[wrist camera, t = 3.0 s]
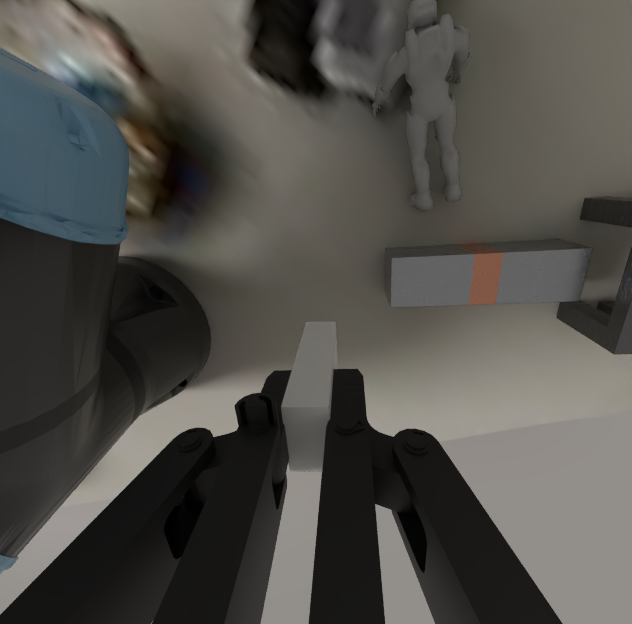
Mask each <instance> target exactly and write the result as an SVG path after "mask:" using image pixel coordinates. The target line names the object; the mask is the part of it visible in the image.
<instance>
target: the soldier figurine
mask: <svg viewBox="0 0 632 624" xmlns="http://www.w3.org/2000/svg"><path fill="white" fill-rule="evenodd" d="M406 13H407V15H408V22H409V25H408V31H407V32H406V33H405V44H404V47H403V48H402V49H401V50H400V51H399V53H398V50H397V51H395V52H394V53H392V55H391V56H390V57H389V58H388V60H387V62H386V65H385V70H384V76H383V78H382V80H381V83H380V84H379V86H378V87H377V89H376V92H375V102H374V103H373V105H372V108H373V112H374V116H376V115H377V114H376V111H377V112H378V108H379V109H381V108H380V104H381V103H383V104H386V101H385V100H387V98H388V97H389V95H390V94H391V92H392V87H393V85H394V84H395V83H396V81H397V80H398V79H399V77H400V76H401V75H402V74H404V73H405V75H406V81H407V82H408V84H409V85H410V86H411V87H412V95H410V101H411V104H412V107H411V110H410V111H407V112H406V134H407V143H408V144H409V148H410V164H411V166H412V169H413V177H414V179H415V182H416V191H417V192H416V193H415V194H414V195H412V196H411V199H410V201H411V204H410V205H411V206H415V207H417V208H418V209H419V210H421V211H426V210H430V209H431V208H432V207H434V204H433V200H432V198H431V195H430V192H429V190H430V188H429V185H428V183H429V178H430V170H429V163H428V161H427V160H426V157H425V150H426V146H427V130H428V123H429V122H432V121H434V126H435V132H436V139H437V142H438V144H439V147H440V164H441V168H442V170H443V172H444V174H445V181H446V186H445V188H444V194H446V201H447V202H455V201H457V200H460V199H461V186H460V184H459V172H458V166H459V155H458V152H457V150H456V148H455V145H454V140H453V137H454V130H455V129H456V118H457V114H456V106H455V98H454V95H453V94H450V95H449V94H448V90H449V83H448V82H446V81H445V79H446V80H447V79H448V77H449V76H451V77H450V80H449V81H450V82H451V80H452V78H453V76H454V78H453V83H454V82H455V79H456V76H457V79H456V83H458V80H459V83H460V82H461V78H462V72H463V69H464V68H465V67H466V65H467V64H468V62H469V61H470V58H471V53H469V52H468V50H469V48H468V41H469V35H470V34H469V32H468V30H467V29H466V27H463V26H460V25H456V26H455V27H454V26H453V21H452V17H451V16H450V14H449V13H448V14H445V15H442V16H441V20H440V23H439V24H438V25H435V24H436V22H437V20H438V17H437V2H436V1H435V0H413V1H412V2H411V3H410V7H409V9H408V10H407V12H406ZM433 25H435V26H433ZM451 62H452V67H453V69H452V70H450V71H449V68H450V65H451ZM448 71H449V72H448ZM446 75H447V76H446ZM445 77H446V78H445Z"/></svg>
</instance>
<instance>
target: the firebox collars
mask: <svg viewBox="0 0 632 624" xmlns="http://www.w3.org/2000/svg"><path fill="white" fill-rule="evenodd" d="M580 219H581V220H587V221H594V222H600V223H606V224H613V225H619V226H625V227H632V198H621V197H595V198H585V199H584V204H583V208H582V212H581V216H580ZM557 318H558V319H559V320H561V321H563V322H564V323H566V324H567V325H569V326H570V327H572V328H574V329H575V330H577V331H578V332H580V333H581V334H583V335H585V336H586V337H588V338H589V339H591V340H592V341H594V342H595V343H597V344H599V345H600V346H602V347H603V348H605V349H606V350H608V351H610V352H611V353H613V354H632V248H631V251H630V254H629V258H628V261H627V264H626V267H625V271H624V274H623V277H622V280H621V284H620V287H619V290H618V293H617V297H616V300H615V302H614V301H610V302H599V304H598V307H597V309H596V308H594V307H592V306H590V305H588V304H586V303H584V302H582V301H580V300H579V301H567V302H560V305H559V309H558V313H557Z"/></svg>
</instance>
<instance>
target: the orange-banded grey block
mask: <svg viewBox="0 0 632 624" xmlns="http://www.w3.org/2000/svg"><path fill="white" fill-rule="evenodd" d="M592 250H593V248H590V247H586V246H582V245H579V244H575V243H571V242H567V241H563V240H560V239H549V240H530V241H511V242H493V243H474V244H455V245H436V246H417V247H398V248H386V258H385V293H386V296H387V298H388V301H389V304H390V306H391V307H418V306H448V305H478V304H508V303H538V302H567V301H579V300H580V296H581V292H582V288H583V285H584V281H585V277H586V273H587V269H588V265H589V261H590V258H591V254H592Z"/></svg>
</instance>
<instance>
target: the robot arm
mask: <svg viewBox="0 0 632 624" xmlns="http://www.w3.org/2000/svg"><path fill="white" fill-rule="evenodd" d="M128 174H129V152H128V147H127V144H126V142H125V139H124V137H123V135H122V133H121V131H120V130H119V128H118V126H117V125H116V124H115V123H114V121H113V120H112V119H111V118H110V116H109V115H108V114H107V113H106V112H105V111H104V110H102V109H101V108H100V107H99V106H98V105H97V104H95V103H94V102H92V101H91V100H90V99H88V98H87V97H85V96H84V95H82V94H80V93H79V92H77V91H75V90H74V89H72V88H71V87H69V86H67V85H66V84H64V83H62V82H61V81H59V80H57V79H55V78H54V77H52V76H50V75H48V74H47V73H45V72H43V71H42V70H40V69H38V68H36V67H35V66H33V65H31V64H29V63H27V62H25V61H24V60H22V59H20V58H18V57H16V56H15V55H13V54H11V53H9V52H7V51H5V50H4V49H2V48H0V574H1V573H2V572H3V571H4V570H7V569H9V568H10V567H11V566H12V565H13V564H14V563H15V562H16V560H17V559H18V557H17V555H18V554H19V553H20V552H21V551H22V550H23V548H24V547H25V546H26V545H27V544H28V543H29V541H30V540H31V539H32V538H33V537H34V536H35V535H36V534H37V532H38V531H39V530H40V529H41V528H42V527H43V525H44V524H45V523H46V522H47V521H48V520H49V519H50V517H51V516H52V515H53V514H54V513H55V511H56V510H57V509H58V508H59V507H60V506H61V505H62V504H63V503H64V501H65V500H66V499H67V498H68V497H69V496H70V494H71V493H72V492H73V491H74V490H75V489H76V488H77V486H78V485H79V484H80V483H81V482H82V481H83V480H84V478H85V477H86V476H87V475H88V474H89V473H90V472H91V470H92V469H93V468H94V467H95V466H96V465H97V463H98V462H99V461H100V460H101V459H102V458H103V457H104V455H105V454H106V453H107V452H108V451H109V450H110V449H111V447H112V446H113V445H114V444H115V443H116V442H117V441H118V439H119V438H120V437H121V436H122V435H123V434H124V432H125V431H126V430H127V429H128V428H129V427H130V425H131V424H132V423H133V422H134V421H135V420H136V419H137V418H138V417H139V416H140V415H142V414H143V413H145V412H147V411H149V410H151V409H152V408H154V407H156V406H158V405H159V404H161V403H163V402H165V401H166V400H168V399H170V398H172V397H174V396H175V395H177V394H179V393H180V392H182V391H183V390H184V389H185V388H187V387H188V386H189V385H190V384H191V383H192V381H193V380H194V379H195V378H196V376H197V375H198V374H199V372H200V371H201V370H202V368H203V367H204V365H205V363H206V361H207V358H208V355H209V351H210V331H209V326H208V322H207V319H206V316H205V314H204V312H203V310H202V308H201V306H200V304H199V302H198V301H197V299H196V298H195V297H194V295H193V294H192V293H191V292H190V290H189V289H188V288H187V287H186V286H185V285H184V284H183V283H182V282H181V281H179V280H178V279H177V278H176V277H175V276H173V275H172V274H170V273H169V272H167V271H166V270H164V269H162V268H160V267H158V266H156V265H154V264H152V263H149V262H146V261H143V260H140V259H135V258H128V257H119V250H120V244H121V242H122V241H123V240H124V239H126V237H127V234H128V225H127V221H126V218H125V208H126V196H127V185H128ZM235 410H236V415H237V420H238V425H239V427H238V429H237V431H235V432H232V433H229V434H225V435H221V436H217V437H213V435H212V433H211V432H210V430H207V429H205V428H193V429H189V430H187V431H185V432H183V433H180V434H179V435H178V436H177V437H175V438H174V439H173V440H172V441H171V442H170V443H169V444H168V445H167V446H166V447H165V448H164V449H163V450H162V451H161V452H160V453H159V454H158V455H157V456H156V457H155V458H154V459H153V460H152V461H151V462H150V463H149V464H148V465H147V466H146V467H145V468H144V469H143V471H142V472H141V473H140V474H139V475H138V476H137V477H136V478H135V479H134V480H133V481H132V482H131V483H130V484H129V485H128V486H127V487H126V488H125V489H124V490H123V491H122V492H121V493H120V494H119V495H118V496H117V497H116V498H115V499H114V500H113V501H112V502H111V503H110V504H109V505H108V506H107V507H106V508H105V509H104V510H103V511H102V512H101V513H100V514H99V515H98V516H97V517H96V518H95V519H94V520H93V521H92V522H91V523H90V524H89V525H88V526H87V527H86V528H85V529H84V531H82V532H81V533H80V534H79V536H77V537H76V539H75V540H74V541H73V542H72V543H71V544H70V545H69V546H68V547H67V548H66V549H65V550H64V551H63V552H62V553H61V554H60V555H59V556H58V557H57V558H56V559H55V560H54V561H53V562H52V563H51V564H50V565H49V566H48V567H47V568H46V569H45V570H44V571H43V572H42V573H41V574H40V575H39V576H38V577H37V578H36V579H35V580H34V581H33V582H32V583H31V584H30V585H29V586H28V587H27V588H26V589H25V590H24V591H23V592H22V593H21V594H20V595H19V596H18V598H16V599H15V600H14V601H13V603H12V604H10V606H9V607H8V608H7V609H6V610H5V611H4V612H3V613H2V614H1V615H0V624H151V623H152V621H153V623H152V624H260V622H261V617H262V612H263V607H264V602H265V597H266V592H267V586H268V581H269V576H270V571H271V566H272V561H273V556H274V551H275V545H276V540H277V534H278V529H279V525H280V520H281V514H282V509H283V504H284V498H285V494H286V489H287V477H286V470H287V465H288V462H289V470H290V471H299V472H322V479H321V491H320V502H319V513H318V525H317V536H316V547H315V559H314V571H313V582H312V593H311V604H310V616H309V624H385V617H384V606H383V593H382V582H381V569H380V558H379V546H378V534H377V522H376V511H375V504H377V505H380V506H383V507H385V508H388V509H391V510H392V514H393V516H394V519H395V521H396V524H397V526H398V529H399V532H400V534H401V537H402V539H403V542H404V544H405V547H406V550H407V552H408V555H409V557H410V560H411V562H412V565H413V568H414V570H415V573H416V575H417V578H418V580H419V583H420V586H421V588H422V591H423V593H424V596H425V598H426V601H427V604H428V606H429V609H430V611H431V614H432V616H433V619H434V622H435V624H562V622H561V621H560V619H559V618H558V616H557V615H556V614H555V612H554V611H553V609H552V608H551V606H550V605H549V603H548V602H547V600H546V599H545V597H544V596H543V594H542V593H541V592H540V590H539V589H538V587H537V586H536V584H535V583H534V581H533V580H532V578H531V577H530V576H529V574H528V572H527V571H526V569H525V568H524V567H523V565H522V564H521V562H520V561H519V559H518V558H517V556H516V555H515V553H514V552H513V550H512V549H511V548H510V546H509V545H508V543H507V542H506V540H505V539H504V537H503V536H502V534H501V533H500V531H499V530H498V528H497V527H496V525H495V524H494V523H493V521H492V520H491V518H490V517H489V515H488V514H487V512H486V511H485V509H484V508H483V506H482V505H481V504H480V502H479V501H478V499H477V498H476V496H475V495H474V493H473V492H472V490H471V489H470V487H469V486H468V484H467V483H466V481H465V480H464V479H463V477H462V476H461V474H460V473H459V471H458V470H457V468H456V467H455V465H454V464H453V462H452V461H451V459H450V458H449V457H448V455H447V454H446V452H445V451H444V449H443V448H442V446H441V445H440V443H439V442H438V441H437V440H436V439H435V438H434V437H433V436H432V435H431V434H429V433H427V432H425V431H422V430H418V429H405V430H402V431H400V432H398V433H397V434H396V435H395V436H394V437H392V436H388V435H385V434H382V433H380V432H378V431H376V430H375V429H373V428H372V427H371V426H370V424H369V423H368V421H367V416H366V405H365V393H364V381H363V375H362V374H361V373H360V371H359V370H358V369H338V359H337V339H336V321H322V322H306V324H305V327H304V330H303V334H302V337H301V341H300V344H299V347H298V351H297V354H296V358H295V361H294V364H293V368H292V370H286V371H274V372H273V373H271V374H270V375H269V376H268V377H267V379H266V381H265V384H264V387H263V389H262V391H261V393H255V394H250V395H248V396H245V397H243V398H242V399H240V400H239V401H238V402H237V403H236V405H235Z"/></svg>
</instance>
